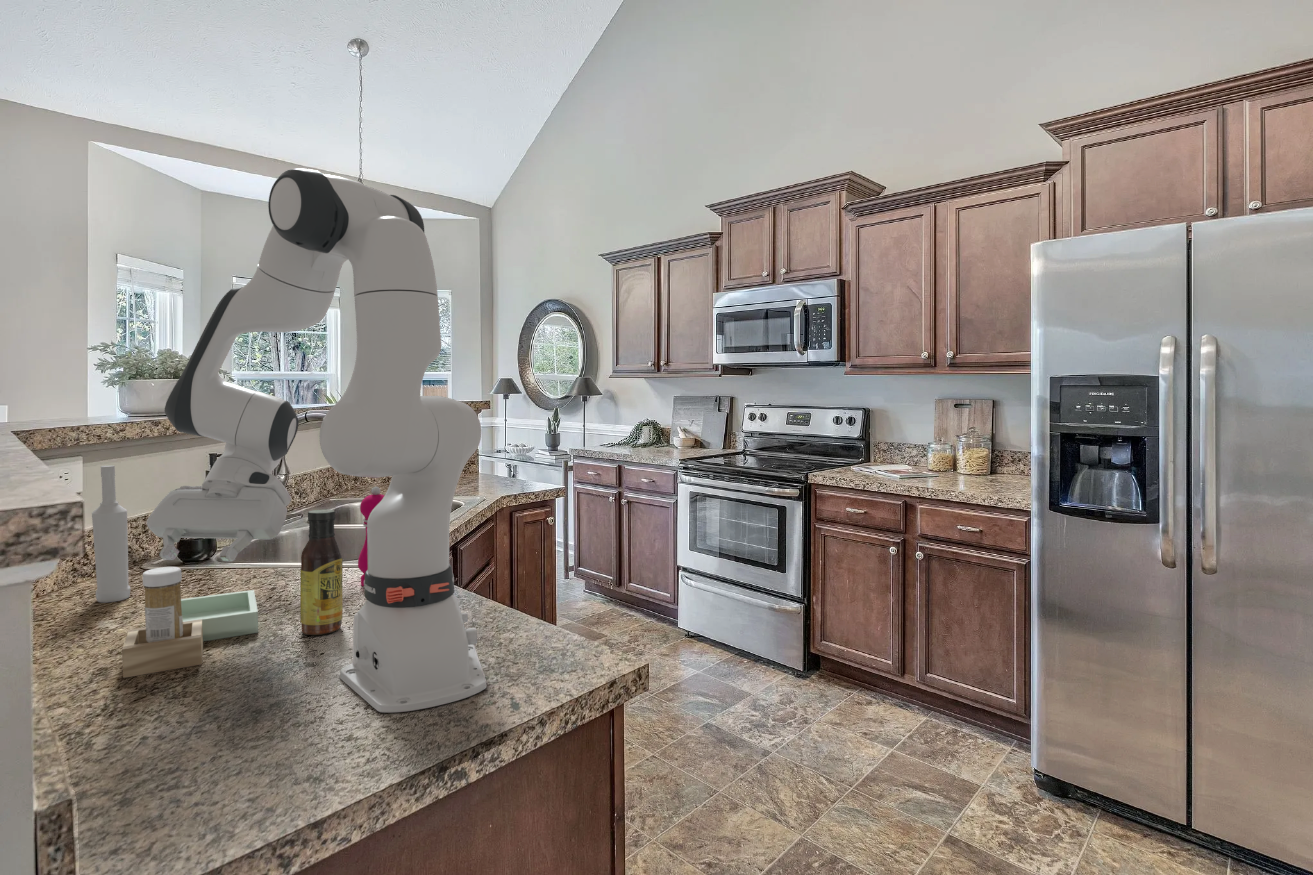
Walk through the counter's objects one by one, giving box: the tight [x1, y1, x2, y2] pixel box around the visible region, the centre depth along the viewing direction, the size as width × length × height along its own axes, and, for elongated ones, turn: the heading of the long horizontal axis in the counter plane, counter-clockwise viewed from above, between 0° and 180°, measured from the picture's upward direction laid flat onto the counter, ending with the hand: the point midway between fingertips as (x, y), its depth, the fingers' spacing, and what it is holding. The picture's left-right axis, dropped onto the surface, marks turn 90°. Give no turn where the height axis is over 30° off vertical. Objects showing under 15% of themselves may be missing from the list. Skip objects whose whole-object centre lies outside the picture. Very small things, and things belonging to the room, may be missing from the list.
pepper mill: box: [357, 486, 385, 588], centre depth 139 cm, size 7×7×20 cm
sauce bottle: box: [299, 509, 344, 636], centre depth 112 cm, size 6×6×20 cm
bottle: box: [91, 465, 131, 604], centre depth 127 cm, size 5×5×25 cm
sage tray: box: [181, 589, 259, 642], centre depth 113 cm, size 14×14×4 cm
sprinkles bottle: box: [142, 566, 183, 643], centre depth 99 cm, size 5×5×13 cm
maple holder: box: [121, 619, 204, 679], centre depth 100 cm, size 9×9×4 cm
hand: (196, 558), depth 106 cm, fingers open, 8 cm apart
